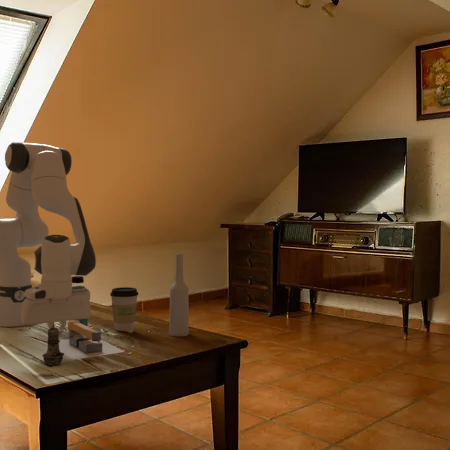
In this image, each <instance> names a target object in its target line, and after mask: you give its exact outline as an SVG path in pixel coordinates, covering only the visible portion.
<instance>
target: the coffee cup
mask: <svg viewBox="0 0 450 450" xmlns="http://www.w3.org/2000/svg"><path fill="white" fill-rule="evenodd" d="M109 295H110V296H111V309H112V318H113V322H114V330H115V331H118V332H127V333H130V334H131V333H133V332H134V326H135V322H136V313H137V305H138V302H137V300H138V296H139V291H138V289H137V288H136V287H131V286H130V287H129V286H128V287H127V286H125V287H114V288H112V289H111V292H110V294H109Z"/></svg>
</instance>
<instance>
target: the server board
mask: <svg viewBox="0 0 450 450" xmlns="http://www.w3.org/2000/svg"><path fill="white" fill-rule="evenodd" d="M68 333H69V334H68V336H73V335H79V333H78V332H76V331H74V330H68ZM59 340H60V342H59V350H60V352H61V353H64V356H66V357H68V358H70V359H71V360H72V361H75V360H81V359H88V358H89V359H90V358H95V357H101V356H107V355H108V356H109V355H115V354H120V353H125V350H122V349H121V348H119V347H117V346H114V345H113V344H111V343H109V342H107V341H105V340H103V339H101V341H99V342H101V343H102V352H95V353H89V354H86V353H84V352H82V351H81V350H79V348H76V347H74V346H72V345H71V344H69V338H66V339H59ZM46 344H48V343H47V341H46Z"/></svg>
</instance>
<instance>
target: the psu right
mask: <svg viewBox="0 0 450 450" xmlns="http://www.w3.org/2000/svg"><path fill="white" fill-rule="evenodd" d="M79 350H81V351H82V352H84V353H86V354H89V353H95V352H102V343H101V342H93V341H92V340H84V341H79Z"/></svg>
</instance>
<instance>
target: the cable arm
mask: <svg viewBox="0 0 450 450" xmlns="http://www.w3.org/2000/svg"><path fill="white" fill-rule="evenodd" d="M67 330H68V331H69V330H74V331H76V332H78V335H80V334H81V335H83V336H85V337H87V338H89V339H91V340H92V341H93V342H99V341H101V340H102V331H97V330H95V329H93V328H91V327H90V326H88V327H87V326H85V325H83V324H81V323H79V320H70V321H69V320H68V321H67Z"/></svg>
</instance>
